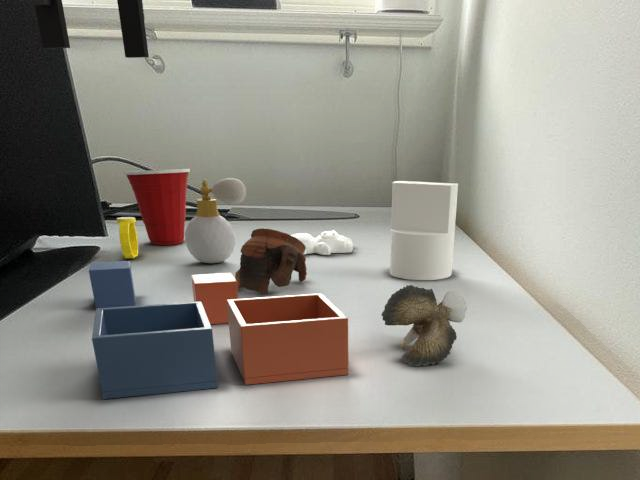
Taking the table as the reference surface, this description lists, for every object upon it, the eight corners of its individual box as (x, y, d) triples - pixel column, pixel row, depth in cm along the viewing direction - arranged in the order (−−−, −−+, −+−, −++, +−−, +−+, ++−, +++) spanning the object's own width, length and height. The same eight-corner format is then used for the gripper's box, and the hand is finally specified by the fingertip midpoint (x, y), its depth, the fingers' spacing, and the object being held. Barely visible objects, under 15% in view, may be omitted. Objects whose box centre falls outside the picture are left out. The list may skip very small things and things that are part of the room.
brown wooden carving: (219, 288, 89) (234, 228, 89) (280, 312, 94) (294, 255, 94) (257, 281, 79) (274, 214, 79) (322, 308, 84) (338, 245, 84)
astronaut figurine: (352, 255, 107) (352, 236, 106) (278, 255, 107) (277, 235, 106) (353, 246, 115) (353, 227, 113) (284, 245, 115) (284, 227, 113)
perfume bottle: (190, 257, 105) (181, 174, 99) (252, 256, 106) (246, 174, 100) (185, 267, 98) (174, 179, 93) (250, 266, 99) (244, 179, 94)
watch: (137, 261, 102) (130, 220, 99) (118, 261, 102) (111, 220, 99) (144, 254, 107) (138, 215, 104) (126, 254, 107) (120, 215, 104)
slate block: (97, 300, 81) (90, 262, 79) (135, 297, 82) (129, 260, 80) (95, 309, 78) (88, 270, 75) (135, 306, 79) (129, 268, 76)
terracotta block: (195, 314, 76) (190, 274, 74) (234, 311, 77) (231, 272, 75) (199, 325, 72) (194, 283, 70) (240, 322, 73) (236, 281, 71)
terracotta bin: (231, 352, 64) (226, 299, 62) (322, 344, 67) (321, 293, 64) (245, 385, 57) (240, 326, 54) (348, 374, 59) (348, 318, 56)
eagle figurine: (382, 322, 69) (361, 331, 61) (424, 265, 66) (408, 265, 58) (439, 368, 69) (426, 382, 61) (483, 312, 66) (476, 319, 58)
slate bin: (106, 363, 61) (96, 308, 59) (207, 354, 64) (201, 301, 61) (103, 399, 54) (91, 338, 51) (218, 387, 56) (212, 328, 53)
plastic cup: (180, 235, 124) (172, 164, 118) (209, 243, 117) (201, 168, 111) (124, 241, 118) (112, 167, 112) (151, 250, 110) (139, 171, 105)
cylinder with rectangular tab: (459, 270, 98) (466, 181, 92) (439, 282, 91) (446, 187, 85) (403, 264, 101) (406, 179, 95) (379, 276, 94) (381, 184, 88)
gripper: (-17, -294, 50) (47, 42, 60) (166, -175, 71) (190, 59, 81) (-93, -278, 52) (-18, 44, 62) (107, -167, 73) (138, 61, 83)
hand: (100, 53), depth 72 cm, fingers open, 13 cm apart
